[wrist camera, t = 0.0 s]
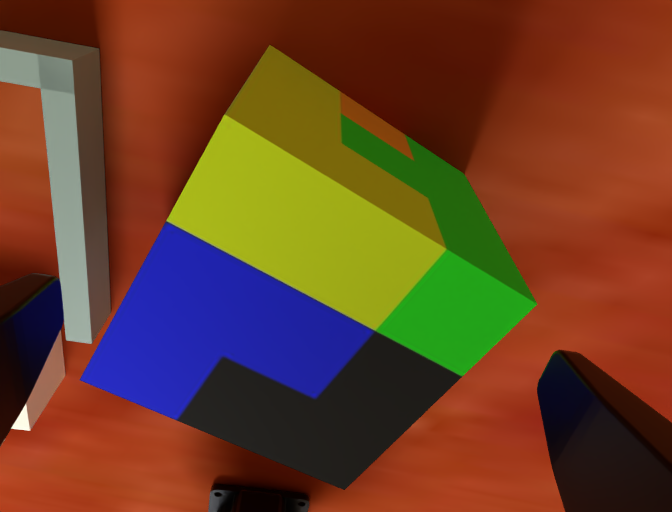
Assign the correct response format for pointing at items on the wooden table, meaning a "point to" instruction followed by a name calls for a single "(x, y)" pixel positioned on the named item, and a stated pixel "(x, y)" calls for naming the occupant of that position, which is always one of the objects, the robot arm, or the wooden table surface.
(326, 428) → the puzzle toy
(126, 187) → the wooden table surface
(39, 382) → the t block
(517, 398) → the wooden table surface
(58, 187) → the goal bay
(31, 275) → the robot arm
